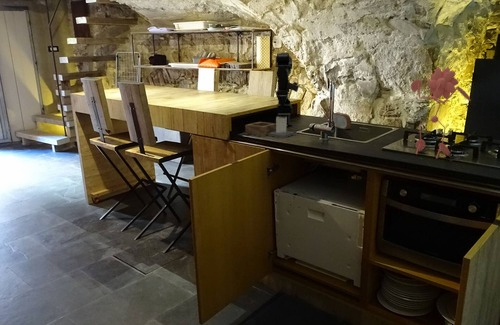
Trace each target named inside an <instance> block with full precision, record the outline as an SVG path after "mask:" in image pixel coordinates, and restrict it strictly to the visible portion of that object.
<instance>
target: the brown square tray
mask: <svg viewBox="0 0 500 325" xmlns="http://www.w3.org/2000/svg"><path fill="white" fill-rule="evenodd" d="M244 126H245V134H246V133H247V134H253V135H252V136H254V135H258V136H257V137H260V136H264V137H267V136H266V135H268V133H271V132H275V131H276V123H273V122H265V121H258V122H252V123H248V124H245V125H244ZM247 134H246V135H247Z"/></svg>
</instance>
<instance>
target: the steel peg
mask: <svg viewBox="0 0 500 325" xmlns="http://www.w3.org/2000/svg"><path fill="white" fill-rule="evenodd" d="M275 124H276V134H286V132H287V131H288V130H287V128H288V127H287V117H279V116H276V118H275Z"/></svg>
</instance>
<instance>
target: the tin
mask: <svg viewBox="0 0 500 325" xmlns="http://www.w3.org/2000/svg"><path fill="white" fill-rule="evenodd" d="M332 114H333V119H334V122H335V127H334V128H336V129H341V130H348V129H350V128H351V127H352V119H351V117H350V115H349V114H346V113H343V112H339V111H338V112H334V113H332Z"/></svg>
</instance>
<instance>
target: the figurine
mask: <svg viewBox="0 0 500 325" xmlns="http://www.w3.org/2000/svg"><path fill="white" fill-rule="evenodd" d="M455 75H456V71H454V70H450V67H446V68H443V70H441V68H440V67H437V68H435V70H434V72H433V73H431V74H430V80H428V81H427V82H426V86H427V87H428V88H429V94H431V95H432V96H421V92H420V91H421V89H420V88H421V87H422V81H421V80H420V79H419V78H417V79H415V80H413V81H412V83H411V84H410V88H411V91H412V92H416V91H417V92H418V99H420V100H421V99H431V100H433V101H435V102H436V103H437V104H439V105H438V106H437V109H436V113H435V115H433V116H432V117H431V118H430V120H428V121H425V122H423V123H419V126H418V128H419V129H418V130H419V139H417V141H416V143H415V147H416V152H415V155H418V152H421V151H423V149H424V148H425V147H426V142H425V140H424V139H422V133H421V131H422V130H421V126H422V125H424V124H427V123H429V122H432V123H435V124H436V123H439V124H440V125H441V126H442V127H443V128H444V130H443V135H442V140H441V142H439V143H438V148H439V149H438V150H437V154H436V156H435V159H438V158H439V155H440V152H442V153H443V154H444V155H445V156H447V157H448V156H449V157H450V155H451V151H450V150H449V148H448V147H447V145H446V144H444V139H445V133H446V127H445V125H444V124H442V122H440V121H439V117H438V116H437V115H438V112H439V110H440V109H441V105H442V104H445V103H446V102H447V101H448V100H449V99H450V98H451V97H452V96H453V95H454V93H456V91H458V92H459V93H460V94H461V96H462V97H463V98H465V99H466V100H467V101H469V102H471V98H470V96H469V94H468V93H467V92H466V91H465V90H464V89H463V88H462V87H460V86H459V80H458V79H457V78H455ZM441 97H443V99H445V100H444V101H443V100H441V99H440V98H441ZM441 103H442V104H441ZM424 150H425V149H424ZM451 162H453V159H452V160H451Z"/></svg>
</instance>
